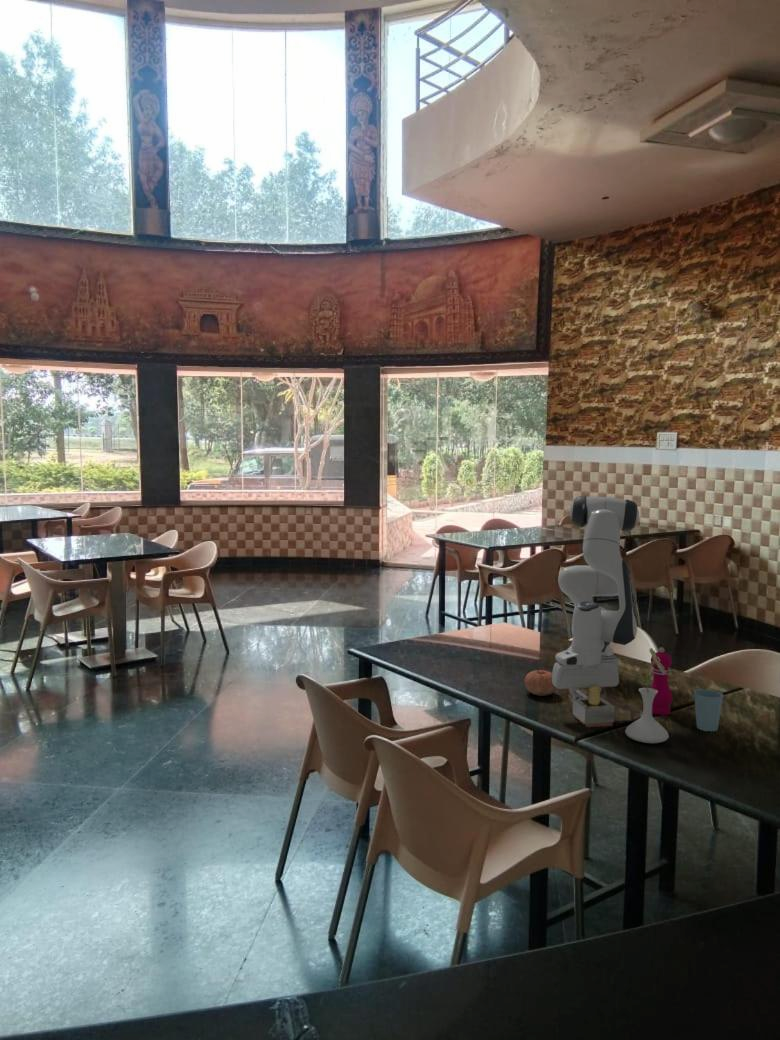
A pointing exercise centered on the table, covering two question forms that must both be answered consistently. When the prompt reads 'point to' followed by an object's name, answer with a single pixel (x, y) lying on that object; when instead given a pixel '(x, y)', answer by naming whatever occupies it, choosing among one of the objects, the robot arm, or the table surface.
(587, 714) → the steel link
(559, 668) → the robot arm
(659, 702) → the pepper mill
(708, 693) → the cup
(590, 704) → the post
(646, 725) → the flower in vase
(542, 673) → the orange pumpkin
